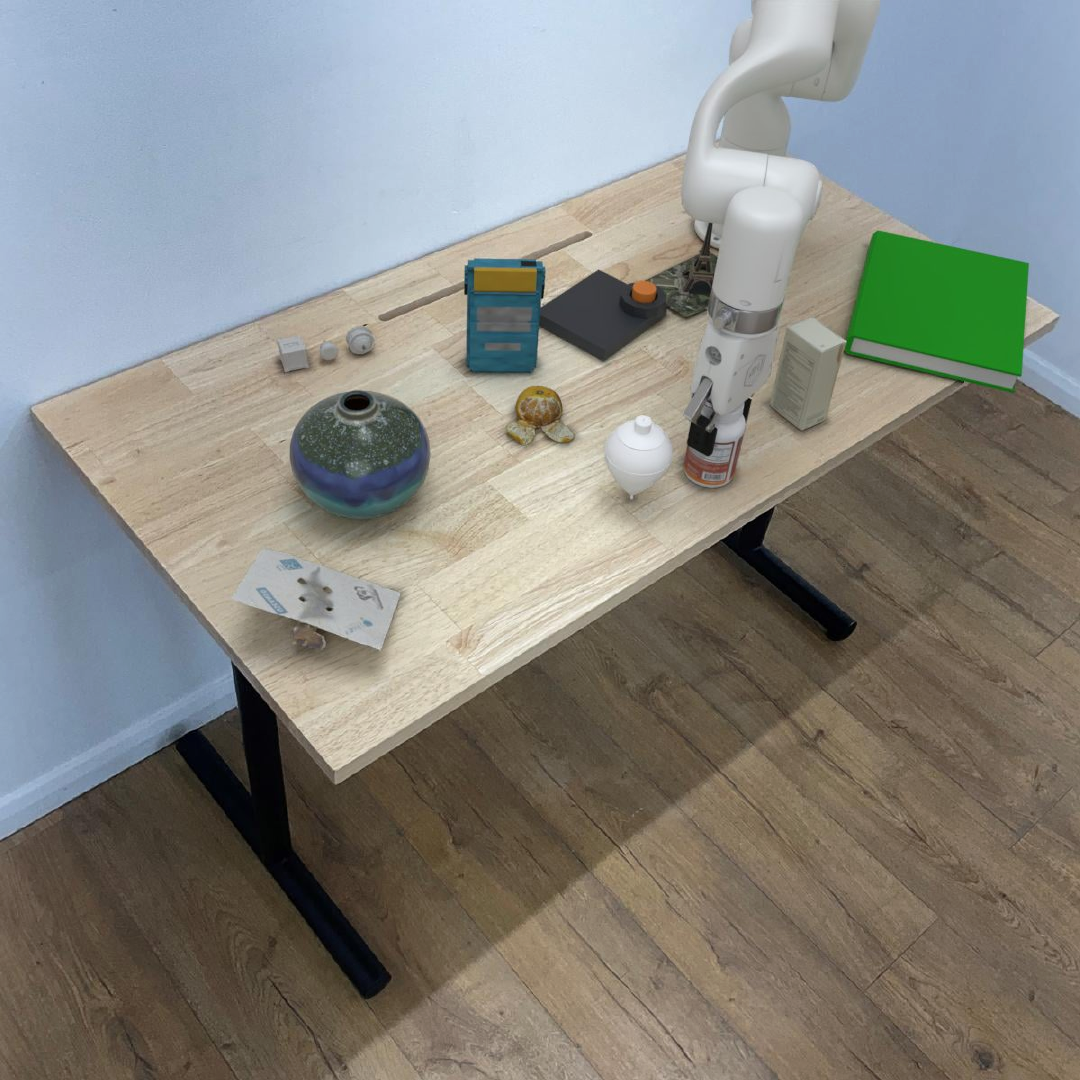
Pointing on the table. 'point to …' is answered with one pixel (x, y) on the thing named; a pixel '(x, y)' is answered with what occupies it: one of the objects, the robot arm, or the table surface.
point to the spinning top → (638, 454)
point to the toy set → (322, 348)
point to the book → (941, 311)
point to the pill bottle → (718, 451)
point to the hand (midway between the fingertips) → (716, 434)
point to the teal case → (503, 314)
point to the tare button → (644, 292)
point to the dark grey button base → (601, 314)
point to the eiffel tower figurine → (689, 280)
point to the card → (318, 599)
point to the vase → (360, 454)
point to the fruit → (538, 416)
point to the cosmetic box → (807, 372)
